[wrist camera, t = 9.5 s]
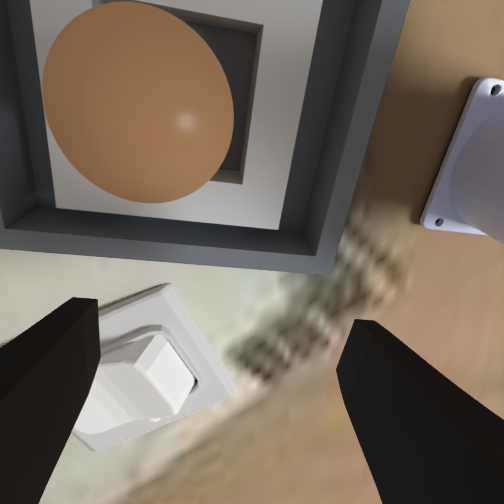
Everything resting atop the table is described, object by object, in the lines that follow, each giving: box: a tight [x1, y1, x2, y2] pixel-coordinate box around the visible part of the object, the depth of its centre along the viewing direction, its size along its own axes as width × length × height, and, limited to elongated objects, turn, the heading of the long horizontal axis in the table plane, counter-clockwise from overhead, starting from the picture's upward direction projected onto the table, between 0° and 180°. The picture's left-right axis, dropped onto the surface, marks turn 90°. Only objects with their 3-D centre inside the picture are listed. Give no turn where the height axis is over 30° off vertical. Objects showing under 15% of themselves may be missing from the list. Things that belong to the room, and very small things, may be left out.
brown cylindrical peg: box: [42, 1, 234, 203], centre depth 11 cm, size 4×4×9 cm
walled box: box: [0, 0, 410, 275], centre depth 14 cm, size 16×14×4 cm
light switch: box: [71, 283, 238, 452], centre depth 22 cm, size 11×4×13 cm
